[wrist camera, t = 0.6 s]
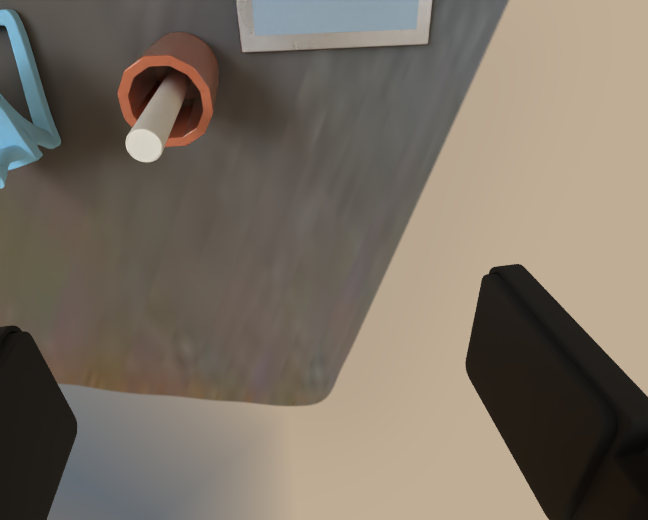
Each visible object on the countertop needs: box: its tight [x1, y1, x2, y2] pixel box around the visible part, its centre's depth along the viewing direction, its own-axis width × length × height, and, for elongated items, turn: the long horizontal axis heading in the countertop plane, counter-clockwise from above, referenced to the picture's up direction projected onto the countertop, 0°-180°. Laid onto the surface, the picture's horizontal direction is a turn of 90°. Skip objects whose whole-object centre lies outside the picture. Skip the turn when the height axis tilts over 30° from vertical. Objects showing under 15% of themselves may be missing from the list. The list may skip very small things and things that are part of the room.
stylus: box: [125, 68, 192, 162], centre depth 24 cm, size 1×1×15 cm
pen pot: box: [117, 32, 219, 147], centre depth 27 cm, size 5×5×9 cm
